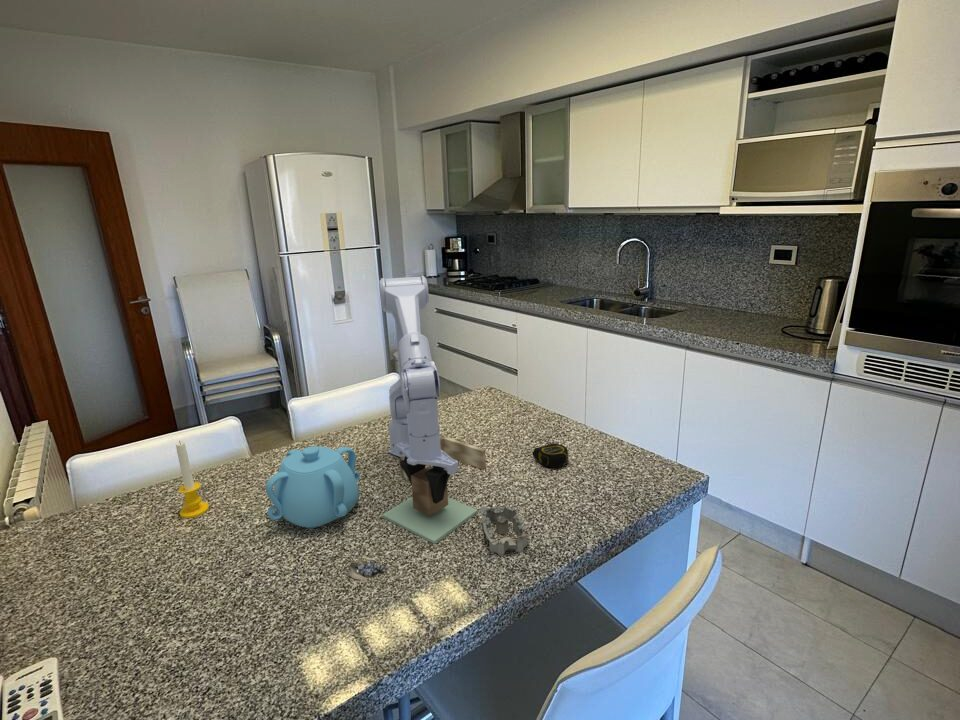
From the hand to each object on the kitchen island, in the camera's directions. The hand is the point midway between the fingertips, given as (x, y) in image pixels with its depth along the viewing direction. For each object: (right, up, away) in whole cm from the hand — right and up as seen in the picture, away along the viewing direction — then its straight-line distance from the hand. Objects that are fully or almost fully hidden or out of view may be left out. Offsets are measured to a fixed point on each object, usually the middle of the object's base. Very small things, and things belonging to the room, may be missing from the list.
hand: (428, 496), depth 97 cm
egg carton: (+14, -6, -6) cm, 16 cm away
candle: (-48, -5, +6) cm, 48 cm away
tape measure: (+26, +2, +20) cm, 33 cm away
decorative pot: (-22, -4, +4) cm, 23 cm away
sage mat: (0, -4, +1) cm, 4 cm away
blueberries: (-8, -9, -13) cm, 18 cm away
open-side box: (+2, +1, +17) cm, 17 cm away
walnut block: (0, -2, +1) cm, 2 cm away
